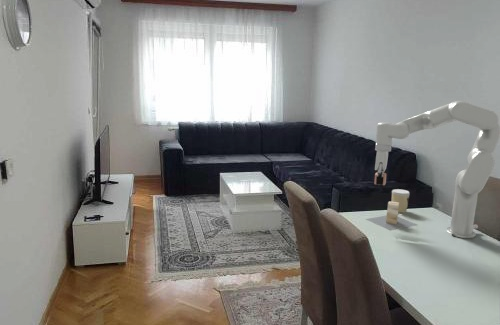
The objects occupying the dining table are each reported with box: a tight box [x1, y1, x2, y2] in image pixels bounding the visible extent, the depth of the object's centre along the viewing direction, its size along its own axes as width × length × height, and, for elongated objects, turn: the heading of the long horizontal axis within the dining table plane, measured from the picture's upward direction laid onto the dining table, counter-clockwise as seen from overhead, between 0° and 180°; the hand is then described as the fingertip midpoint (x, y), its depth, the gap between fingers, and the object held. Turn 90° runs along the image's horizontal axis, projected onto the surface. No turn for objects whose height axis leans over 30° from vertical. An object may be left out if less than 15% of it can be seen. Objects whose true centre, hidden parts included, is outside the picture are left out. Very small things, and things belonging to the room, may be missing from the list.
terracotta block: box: [373, 171, 387, 186], centre depth 200 cm, size 5×5×5 cm
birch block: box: [386, 201, 399, 215], centre depth 201 cm, size 5×5×5 cm
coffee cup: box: [391, 188, 411, 214], centre depth 221 cm, size 9×9×12 cm
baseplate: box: [365, 215, 418, 231], centre depth 203 cm, size 19×17×1 cm
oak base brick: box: [386, 212, 399, 224], centre depth 202 cm, size 5×5×5 cm
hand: (380, 182), depth 200 cm, fingers closed on terracotta block, 4 cm apart
